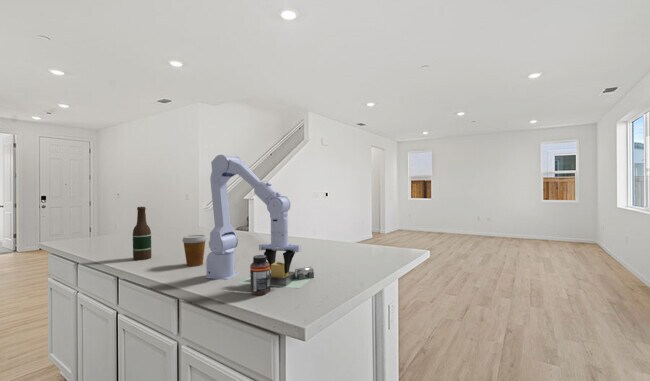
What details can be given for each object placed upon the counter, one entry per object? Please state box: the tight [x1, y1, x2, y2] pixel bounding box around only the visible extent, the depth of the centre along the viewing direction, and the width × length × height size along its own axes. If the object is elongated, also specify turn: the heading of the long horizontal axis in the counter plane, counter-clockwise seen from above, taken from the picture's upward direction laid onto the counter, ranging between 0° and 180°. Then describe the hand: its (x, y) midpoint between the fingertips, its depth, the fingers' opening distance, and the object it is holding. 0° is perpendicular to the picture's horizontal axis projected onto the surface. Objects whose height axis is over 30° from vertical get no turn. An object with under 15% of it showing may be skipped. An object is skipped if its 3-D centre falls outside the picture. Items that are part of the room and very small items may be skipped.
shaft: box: [294, 266, 315, 280], centre depth 115 cm, size 6×4×4 cm, turn 119°
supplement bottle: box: [249, 254, 271, 296], centre depth 101 cm, size 6×6×11 cm
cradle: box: [270, 271, 296, 286], centre depth 111 cm, size 8×8×3 cm
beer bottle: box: [132, 206, 152, 261], centre depth 151 cm, size 8×8×24 cm
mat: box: [238, 271, 316, 289], centre depth 114 cm, size 22×16×1 cm
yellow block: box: [270, 261, 290, 278], centre depth 110 cm, size 4×4×5 cm
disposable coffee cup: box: [182, 234, 207, 267], centre depth 138 cm, size 10×10×12 cm
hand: (279, 272), depth 111 cm, fingers closed on yellow block, 4 cm apart
